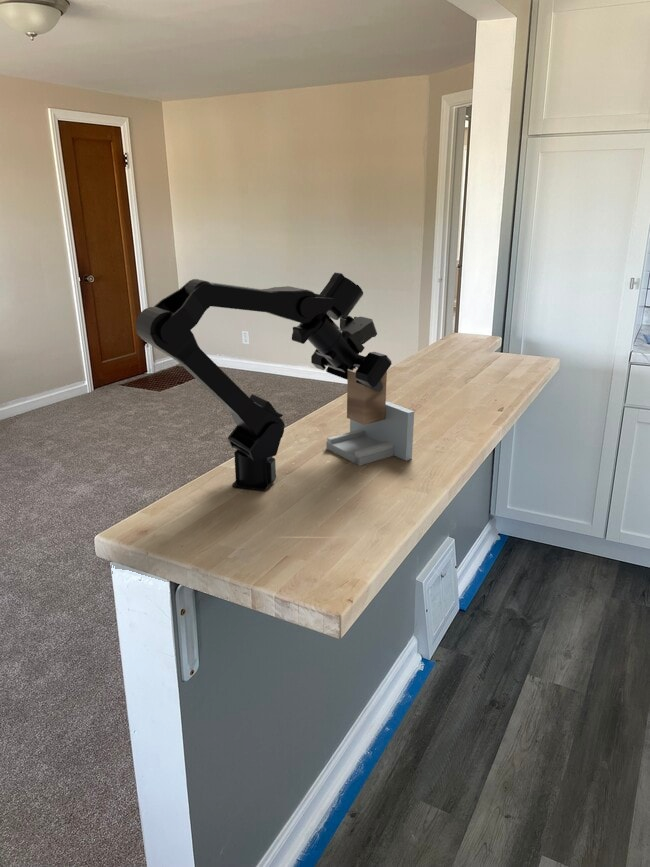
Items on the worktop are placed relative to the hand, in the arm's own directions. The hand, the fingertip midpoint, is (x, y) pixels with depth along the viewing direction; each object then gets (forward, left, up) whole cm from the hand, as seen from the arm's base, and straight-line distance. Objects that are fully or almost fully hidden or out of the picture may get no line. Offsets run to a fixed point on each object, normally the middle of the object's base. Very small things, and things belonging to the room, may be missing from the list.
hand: (371, 386), depth 129 cm
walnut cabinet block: (-1, -1, -7) cm, 7 cm away
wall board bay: (-2, -2, -14) cm, 14 cm away
